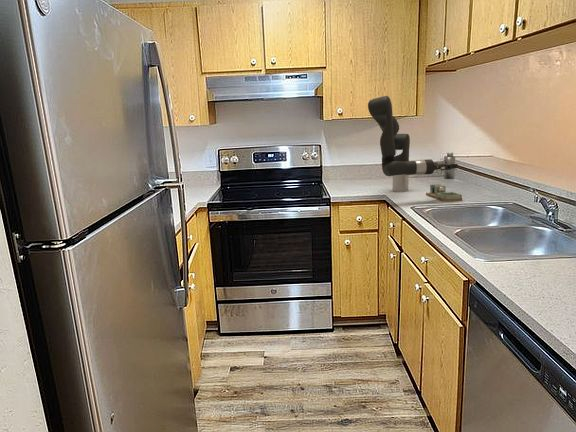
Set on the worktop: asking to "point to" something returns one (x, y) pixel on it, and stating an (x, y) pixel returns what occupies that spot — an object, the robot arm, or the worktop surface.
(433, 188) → the shaft and pillow blocks
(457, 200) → the base board
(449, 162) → the grey bottle
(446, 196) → the hub seat
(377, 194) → the worktop surface
